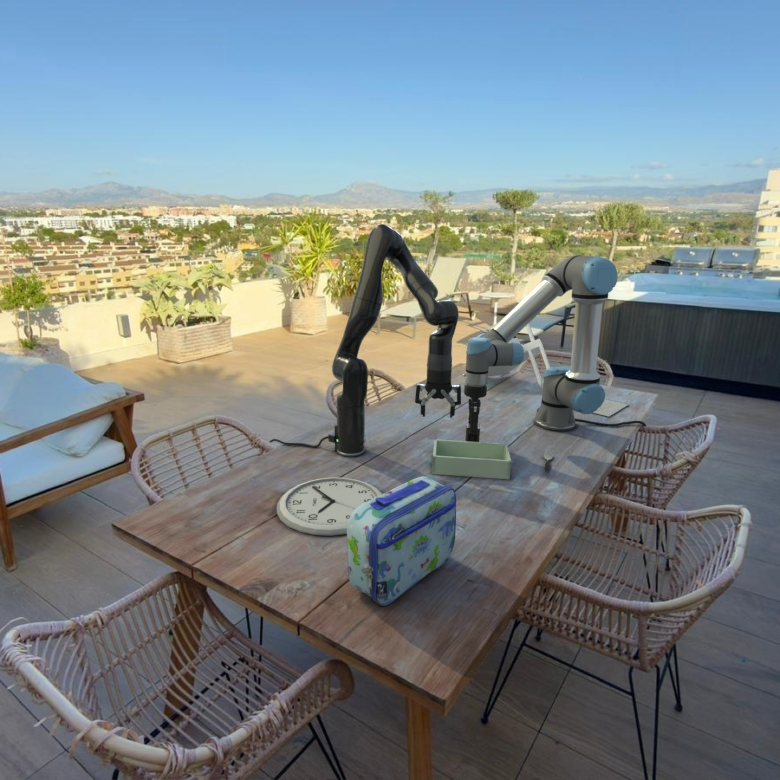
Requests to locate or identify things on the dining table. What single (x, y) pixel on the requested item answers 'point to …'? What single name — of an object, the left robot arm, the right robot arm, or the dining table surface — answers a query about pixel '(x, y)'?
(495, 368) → the white plastic object
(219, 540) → the dining table surface
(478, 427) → the walnut block
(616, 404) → the invitation card
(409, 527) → the lunch box
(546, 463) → the fork
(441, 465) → the tote
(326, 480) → the wall clock
